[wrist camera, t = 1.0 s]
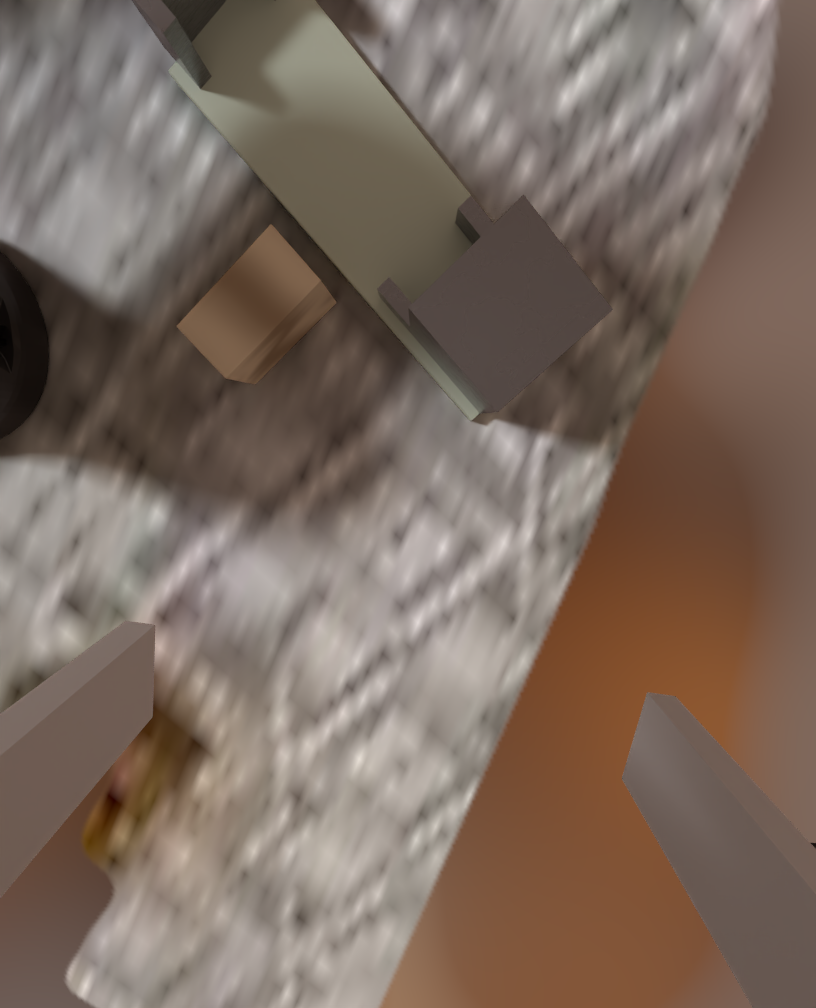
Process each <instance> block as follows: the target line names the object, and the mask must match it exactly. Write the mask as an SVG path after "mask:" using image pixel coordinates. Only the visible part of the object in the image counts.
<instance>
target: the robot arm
mask: <svg viewBox="0 0 816 1008" xmlns="http://www.w3.org/2000/svg"><path fill="white" fill-rule="evenodd" d="M48 359H49V352H48V339H47V333H46V328H45V324H44V320H43V317H42V314H41V311H40V308H39V306H38V303H37V301H36V299H35V297H34V295H33V293H32V291H31V289H30V287H29V286H28V284H27V283H26V281H25V280H24V278H23V277H22V275H21V274H20V273H19V271H18V270H17V269H16V268H15V266H14V265H13V264H12V263H11V262H10V261H9V260H8V259H7V257H5V256H4V255H3V254H2V253H1V252H0V438H2V437H4V436H6V435H7V434H9V433H11V432H12V431H13V430H15V429H16V428H17V427H18V426H20V425H21V424H22V423H23V422H24V421H25V420H26V418H27V417H28V416H29V415H30V414H31V412H32V411H33V409H34V408H35V406H36V404H37V402H38V400H39V398H40V396H41V394H42V391H43V388H44V385H45V381H46V377H47V371H48ZM154 651H155V625H152V624H145V623H138V622H130V621H125V622H123V623H122V624H121V625H119V626H118V627H117V628H115V629H114V630H113V631H111V632H110V633H109V634H107V635H106V636H105V637H103V638H102V639H101V640H99V641H98V642H97V643H95V644H94V645H93V646H91V647H90V648H88V649H87V650H86V651H84V652H83V653H82V654H80V655H79V656H78V657H76V658H75V659H74V660H72V661H71V662H70V663H68V664H67V665H66V666H64V667H63V668H62V669H60V670H59V671H58V672H56V673H55V674H53V675H52V676H51V677H49V678H48V679H47V680H45V681H44V682H43V683H41V684H40V685H39V686H37V687H36V688H35V689H33V690H32V691H31V692H29V693H28V694H27V695H25V696H24V697H22V698H21V699H20V700H18V701H17V702H16V703H14V704H13V705H12V706H10V707H9V708H8V709H6V710H5V711H4V712H2V713H1V714H0V898H1V897H2V895H3V894H4V893H5V892H6V891H7V889H8V888H9V887H10V886H11V885H12V883H13V882H14V881H15V880H16V879H17V877H18V876H19V875H20V874H21V873H22V871H23V870H24V869H25V868H26V867H27V865H28V864H29V863H30V862H31V861H32V860H33V858H34V857H35V856H36V855H37V854H38V853H39V851H40V850H41V849H42V848H43V846H44V845H45V844H46V843H47V842H48V841H49V839H50V838H51V837H52V836H53V835H54V833H55V832H56V831H57V830H58V829H59V827H60V826H61V825H62V824H63V823H64V822H65V820H66V819H67V818H68V817H69V816H70V814H71V813H72V812H73V811H74V810H75V808H76V807H77V806H78V805H79V804H80V803H81V801H82V800H83V799H84V798H85V796H86V795H87V794H88V793H89V792H90V790H91V789H92V788H93V787H94V786H95V785H96V783H97V782H98V781H99V780H100V779H101V777H102V776H103V775H104V774H105V773H106V772H107V770H108V769H109V768H110V767H111V766H112V764H113V763H114V762H115V761H116V760H117V758H118V757H119V756H120V755H121V754H122V752H123V751H124V750H125V749H126V748H127V747H128V745H129V744H130V743H131V742H132V741H133V739H134V738H135V737H136V736H137V735H138V733H139V732H140V731H141V730H142V729H143V727H144V726H145V725H146V724H147V723H148V722H149V720H150V719H151V718H152V717H153V685H154ZM622 780H623V781H624V783H625V785H626V787H627V788H628V790H629V792H630V794H631V796H632V797H633V799H634V801H635V802H636V804H637V806H638V808H639V810H640V811H641V813H642V815H643V816H644V818H645V820H646V822H647V824H648V825H649V827H650V829H651V830H652V832H653V834H654V836H655V838H656V839H657V841H658V843H659V844H660V846H661V848H662V850H663V851H664V853H665V855H666V857H667V859H668V860H669V862H670V864H671V866H672V867H673V869H674V871H675V873H676V874H677V876H678V878H679V880H680V881H681V883H682V884H683V887H684V888H685V890H686V892H687V893H688V895H689V897H690V899H691V900H692V902H693V904H694V906H695V908H696V909H697V911H698V913H699V915H700V916H701V918H702V920H703V921H704V923H705V925H706V927H707V928H708V930H709V932H710V934H711V936H712V937H713V939H714V941H715V943H716V944H717V946H718V948H719V950H720V951H721V953H722V955H723V956H724V958H725V960H726V962H727V964H728V965H729V967H730V969H731V970H732V972H733V974H734V976H735V978H736V979H737V981H738V983H739V985H740V986H741V988H742V990H743V992H744V993H745V995H746V997H747V999H748V1000H749V1002H750V1004H751V1005H752V1007H753V1008H816V843H810V842H809V841H808V840H807V839H806V838H805V837H804V836H803V834H802V833H801V832H800V831H799V830H798V829H797V828H796V827H795V826H794V825H793V824H792V823H791V821H790V820H789V819H788V818H787V817H786V816H785V815H784V814H783V813H782V812H781V811H780V809H779V808H778V807H777V806H776V805H775V804H774V803H773V802H772V801H771V800H770V799H769V798H768V796H767V795H766V794H765V793H764V792H763V791H762V790H761V789H760V788H759V787H758V786H757V785H756V783H755V782H754V781H753V780H752V779H751V778H750V777H749V776H748V775H747V774H746V773H745V771H744V770H742V768H741V767H740V766H739V765H738V764H737V763H736V762H735V761H734V760H733V759H732V757H731V756H730V755H729V754H728V753H727V752H726V751H725V750H724V749H723V748H722V746H721V745H719V743H718V742H717V741H716V740H715V739H714V738H713V737H712V736H711V735H710V733H709V732H708V731H707V730H706V729H705V728H704V727H703V726H702V725H701V724H700V723H699V722H698V721H697V719H696V718H695V717H694V716H693V715H692V714H691V713H690V712H689V711H688V710H687V709H686V708H685V706H684V705H682V703H681V702H680V701H679V700H678V699H677V698H676V697H675V696H670V695H663V694H655V693H647V695H646V699H645V702H644V706H643V709H642V712H641V715H640V719H639V722H638V726H637V729H636V732H635V736H634V739H633V743H632V746H631V750H630V753H629V756H628V760H627V763H626V766H625V770H624V773H623V776H622Z"/></svg>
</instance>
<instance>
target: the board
mask: <svg viewBox="0 0 816 1008" xmlns="http://www.w3.org/2000/svg"><path fill="white" fill-rule="evenodd" d="M192 45H193V46H194V48H195V50H196V51H197V53H198V55H199V56H200V58H201V60H202V61H203V63H204V64H205V66H206V68H207V69H208V71H209V73H210V74H211V76H212V77H211V78H210V79H209V80H208V81H207V82H206V84H205V85H204V86H203V87H202V88H201V89H200V88H199V87H198V86H197V85H196V84H195V82H194V81H193V80H192V79H191V78H190V77H189V75H188V74H187V73H186V72H185V71H184V70H183V69H182V67H181V66H180V65H179V64H178V63H177V62H175V63H174V65H173V66H172V67H171V68H170V69H169V71H168V72H169V73H170V75H171V76H172V77H173V79H174V80H175V82H176V83H177V84H178V85H179V87H180V88H181V89H182V90H183V91H184V92H185V93H186V95H187V96H188V97H189V98H190V99H191V100H192V101H193V103H194V104H195V105H196V106H197V107H198V108H199V110H200V111H201V112H202V113H203V114H204V115H205V116H206V118H207V119H208V120H209V121H210V122H211V123H212V125H213V126H214V127H215V128H216V129H217V130H218V131H219V133H220V134H221V135H222V136H223V137H224V138H225V139H226V141H227V142H228V143H229V144H230V145H231V146H232V148H233V149H234V150H235V151H236V152H237V153H238V154H239V156H240V157H241V158H242V159H243V160H244V161H245V163H246V164H247V165H248V166H249V167H250V168H251V169H252V171H253V172H254V173H255V174H256V175H257V176H258V178H259V179H260V180H261V181H262V182H263V183H264V184H265V186H266V187H267V188H268V189H269V190H270V191H271V192H272V194H273V195H274V196H275V197H276V198H277V199H278V201H279V202H280V203H281V204H282V205H283V206H284V207H285V209H286V210H287V211H288V212H289V213H290V214H291V216H292V217H293V218H294V219H295V220H296V221H297V222H298V224H299V225H300V226H301V227H302V228H303V229H304V230H305V232H306V233H307V234H308V235H309V236H310V237H311V239H312V240H313V241H314V242H315V243H316V244H317V245H318V247H319V248H320V249H321V250H322V251H323V252H324V254H325V255H326V256H327V257H328V258H329V259H330V260H331V262H332V263H333V264H334V265H335V266H336V267H337V268H338V270H339V271H340V272H341V273H342V274H343V275H344V277H345V278H346V279H347V280H348V281H349V282H350V283H351V285H352V286H353V287H354V288H355V289H356V290H357V292H358V293H359V294H360V295H361V296H362V297H363V298H364V300H365V301H366V302H367V303H368V304H369V305H370V306H371V308H372V309H373V310H374V311H375V312H376V313H377V315H378V316H379V317H380V318H381V319H382V320H383V321H384V323H385V324H386V325H387V326H388V327H389V328H390V330H391V331H392V332H393V333H394V334H395V335H396V336H397V338H398V339H399V340H400V341H401V342H402V343H403V345H404V346H405V347H406V348H407V349H408V350H409V351H410V353H411V354H412V355H413V356H414V357H415V358H416V359H417V361H418V362H419V363H420V364H421V365H422V366H423V368H424V369H425V370H426V371H427V372H428V373H429V374H430V376H431V377H432V378H433V379H434V380H435V381H436V383H437V384H438V385H439V386H440V387H441V388H442V389H443V391H444V392H445V393H446V394H447V395H448V396H449V397H450V399H451V400H452V401H453V402H454V403H455V404H456V406H457V407H458V408H459V409H460V410H461V411H462V412H463V414H464V415H465V416H466V417H467V418H468V419H469V421H472V420H473V419H474V418H475V417H476V416H477V415H478V414H479V412H478V411H477V410H476V408H475V407H474V406H473V405H472V404H471V403H470V401H469V400H468V399H467V398H466V397H465V396H464V395H463V393H462V392H461V391H460V390H459V389H458V388H457V386H456V385H455V384H454V383H453V382H452V381H451V379H450V378H449V377H448V376H447V375H446V374H445V372H444V371H443V370H442V369H441V368H440V367H439V366H438V364H437V363H436V362H435V361H434V360H433V359H432V357H431V356H430V355H429V354H428V353H427V352H426V350H425V349H424V348H423V347H422V346H421V345H420V343H419V342H418V341H417V340H416V339H415V338H414V337H413V335H412V334H411V333H410V332H409V331H408V330H407V328H406V327H405V326H404V325H403V324H402V323H401V321H400V320H399V319H398V318H397V317H396V316H395V314H394V313H393V312H392V311H391V310H390V309H389V308H388V306H387V305H386V304H385V303H384V302H383V301H382V299H381V298H380V296H379V293H378V290H377V288H378V287H379V286H380V285H381V284H382V283H383V282H384V281H385V280H386V279H387V278H388V277H390V278H391V280H392V281H393V282H394V283H395V284H396V285H397V287H398V288H399V289H400V290H401V291H402V292H403V294H404V295H405V296H406V297H407V298H408V300H409V301H410V302H411V303H413V302H414V301H415V300H416V299H417V298H419V297H420V296H421V295H422V294H423V293H424V292H425V291H426V290H427V289H428V288H429V287H430V286H431V285H432V284H433V283H434V282H435V281H436V280H437V279H438V278H439V277H440V276H441V275H442V274H443V273H444V272H445V271H446V270H447V269H448V268H449V267H450V266H451V265H452V264H453V263H454V262H455V261H456V260H457V259H459V258H460V257H461V256H462V255H463V254H464V253H465V252H466V251H467V250H468V249H469V248H470V247H471V246H472V245H473V244H472V243H471V242H470V241H469V239H468V238H467V237H466V236H465V234H464V233H463V232H462V231H461V229H460V228H459V227H458V226H457V225H456V223H455V221H456V216H457V210H458V208H459V207H460V206H461V205H462V204H463V203H464V202H465V201H466V200H467V199H468V198H469V197H470V196H471V195H470V193H469V192H468V191H467V190H466V188H465V187H464V186H463V185H462V183H461V182H460V181H459V180H458V178H457V177H456V176H455V175H454V173H453V172H452V171H451V170H450V168H449V167H448V166H447V165H446V163H445V162H444V161H443V160H442V158H441V157H440V156H439V155H438V153H437V152H436V151H435V150H434V148H433V147H432V146H431V145H430V143H429V142H428V141H427V140H426V138H425V137H424V136H423V135H422V133H421V132H420V131H419V130H418V128H417V127H416V126H415V125H414V123H413V122H412V121H411V120H410V118H409V117H408V116H407V115H406V113H405V112H404V111H403V110H402V108H401V107H400V106H399V104H398V103H397V102H396V101H395V99H394V98H393V97H392V96H391V94H390V93H389V92H388V91H387V89H386V88H385V87H384V86H383V84H382V83H381V82H380V81H379V79H378V78H377V77H376V76H375V74H374V73H373V72H372V71H371V69H370V68H369V67H368V66H367V64H366V63H365V62H364V61H363V59H362V58H361V57H360V56H359V54H358V53H357V52H356V51H355V49H354V48H353V47H352V46H351V44H350V43H349V42H348V41H347V39H346V38H345V37H344V36H343V34H342V33H341V32H340V31H339V29H338V28H337V27H336V26H335V24H334V23H333V22H332V21H331V19H330V18H329V17H328V16H327V14H326V13H325V12H324V11H323V9H322V8H321V7H320V6H319V4H318V3H317V2H316V1H315V0H276V1H274V0H226V2H225V3H224V4H223V5H222V6H221V8H220V9H219V10H218V11H217V12H216V14H215V15H214V16H213V17H212V18H211V20H210V21H209V22H208V23H207V25H206V26H205V27H204V28H203V29H202V31H201V32H200V33H199V34H198V35H197V37H196V38H195V39H194V40H193V42H192ZM477 204H478V203H477ZM481 209H482V208H481ZM485 214H486V213H485ZM489 219H490V218H489ZM493 224H494V223H493Z"/></svg>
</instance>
